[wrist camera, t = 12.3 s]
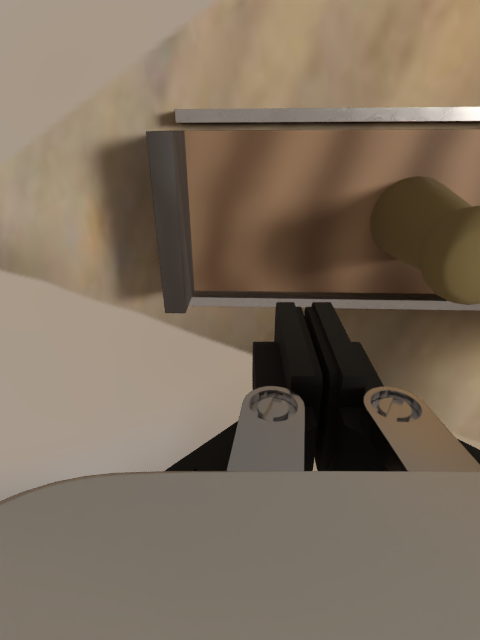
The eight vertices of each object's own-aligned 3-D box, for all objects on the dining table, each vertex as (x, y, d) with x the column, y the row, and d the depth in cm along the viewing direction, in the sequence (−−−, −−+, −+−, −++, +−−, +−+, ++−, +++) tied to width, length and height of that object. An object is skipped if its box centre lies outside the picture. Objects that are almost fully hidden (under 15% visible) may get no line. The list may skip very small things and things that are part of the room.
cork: (363, 192, 28) (419, 227, 18) (450, 163, 27) (560, 185, 17) (377, 267, 30) (432, 334, 20) (457, 244, 29) (556, 304, 19)
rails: (558, 107, 26) (575, 106, 25) (494, 302, 33) (505, 310, 31) (179, 110, 27) (174, 109, 26) (192, 298, 34) (188, 305, 32)
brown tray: (507, 128, 27) (564, 129, 22) (462, 288, 32) (500, 318, 27) (166, 130, 28) (146, 131, 23) (179, 284, 33) (165, 312, 28)
